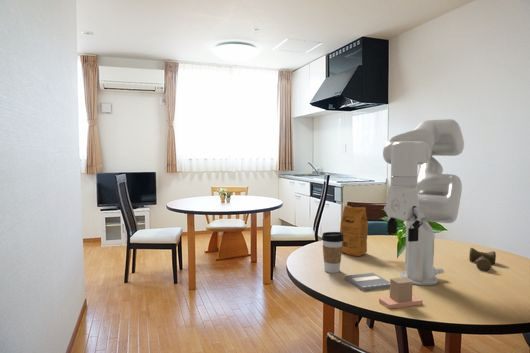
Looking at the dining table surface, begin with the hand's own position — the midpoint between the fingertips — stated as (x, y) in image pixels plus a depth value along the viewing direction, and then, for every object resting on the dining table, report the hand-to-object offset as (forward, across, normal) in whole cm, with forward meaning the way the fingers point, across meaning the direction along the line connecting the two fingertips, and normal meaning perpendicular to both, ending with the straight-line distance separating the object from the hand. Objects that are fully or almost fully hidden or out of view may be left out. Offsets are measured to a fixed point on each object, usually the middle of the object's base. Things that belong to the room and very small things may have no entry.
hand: (402, 237), depth 109 cm
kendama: (+22, -22, +59) cm, 67 cm away
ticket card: (+21, -17, -1) cm, 27 cm away
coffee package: (+22, -53, +15) cm, 59 cm away
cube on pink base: (+20, +1, -1) cm, 20 cm away
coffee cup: (+21, -33, -6) cm, 39 cm away
